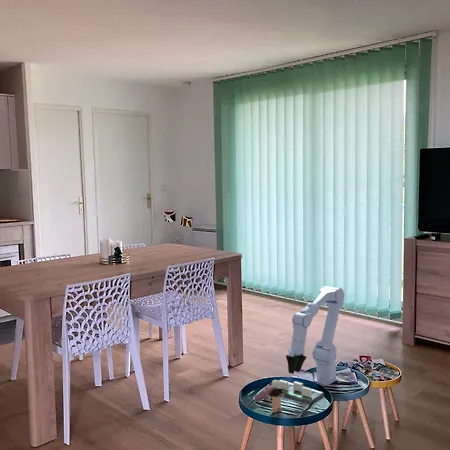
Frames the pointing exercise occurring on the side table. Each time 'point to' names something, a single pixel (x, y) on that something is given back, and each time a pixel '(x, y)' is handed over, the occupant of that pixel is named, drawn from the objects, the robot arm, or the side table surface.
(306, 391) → the block
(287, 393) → the breaker panel
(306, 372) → the side table surface
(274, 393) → the grandmother figurine
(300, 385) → the block
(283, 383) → the block
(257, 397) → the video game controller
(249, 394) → the side table surface
